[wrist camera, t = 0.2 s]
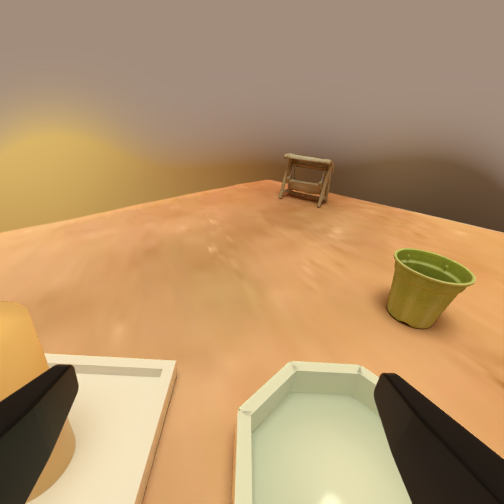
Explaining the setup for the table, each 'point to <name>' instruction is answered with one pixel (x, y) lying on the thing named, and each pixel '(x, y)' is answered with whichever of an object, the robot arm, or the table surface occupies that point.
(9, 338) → the orange tapered cylinder
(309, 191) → the swing bench
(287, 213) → the table surface
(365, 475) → the sage bowl
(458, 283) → the plant pot
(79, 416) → the parts tray
